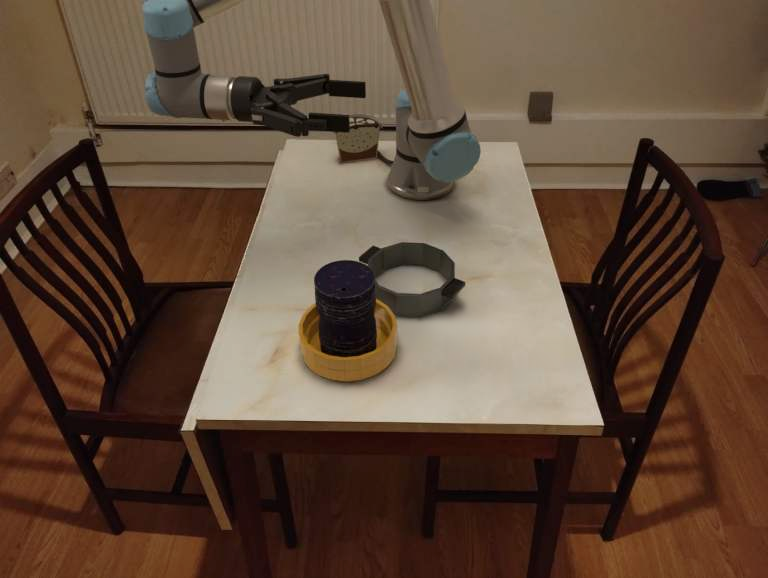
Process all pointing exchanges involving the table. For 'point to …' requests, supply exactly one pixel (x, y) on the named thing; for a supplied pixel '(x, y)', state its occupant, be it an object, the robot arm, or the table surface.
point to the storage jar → (346, 308)
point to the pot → (413, 255)
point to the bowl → (353, 365)
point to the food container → (359, 139)
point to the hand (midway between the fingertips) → (357, 106)
